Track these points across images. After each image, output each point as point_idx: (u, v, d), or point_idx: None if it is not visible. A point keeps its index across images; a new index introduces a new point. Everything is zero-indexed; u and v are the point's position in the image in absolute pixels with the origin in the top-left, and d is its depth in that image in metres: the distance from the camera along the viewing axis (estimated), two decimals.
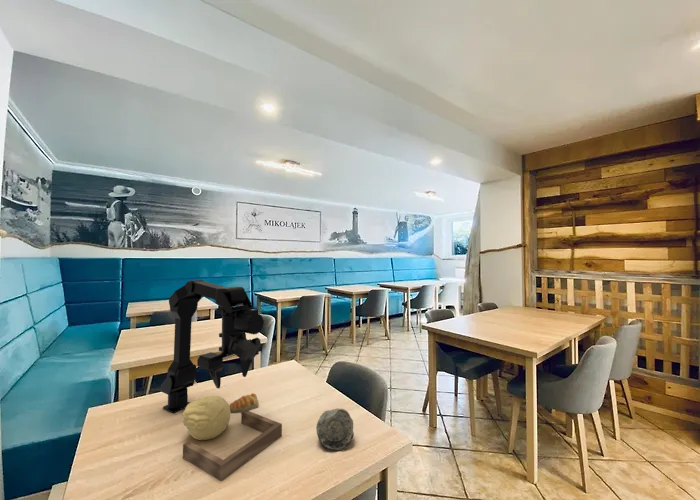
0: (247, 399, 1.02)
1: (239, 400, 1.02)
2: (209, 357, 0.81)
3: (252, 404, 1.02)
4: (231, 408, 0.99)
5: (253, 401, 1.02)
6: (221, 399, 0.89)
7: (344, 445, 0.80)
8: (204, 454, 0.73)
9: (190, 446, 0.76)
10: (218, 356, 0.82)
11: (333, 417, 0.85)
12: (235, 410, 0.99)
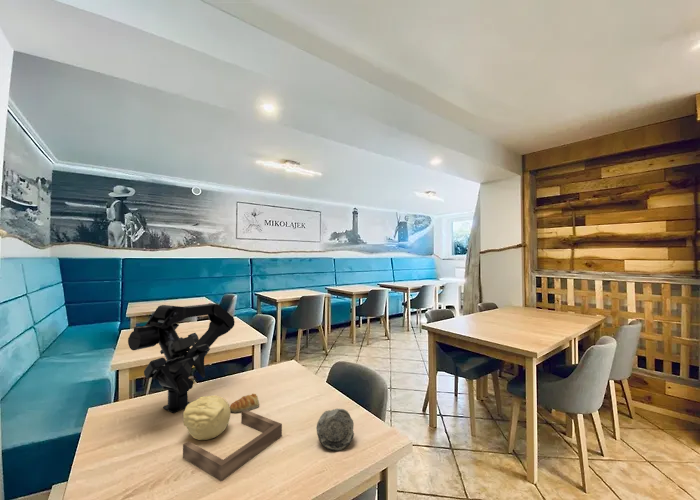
0: (248, 399, 1.02)
1: (240, 400, 1.02)
2: None
3: (253, 404, 1.01)
4: (232, 408, 0.99)
5: (254, 401, 1.02)
6: (221, 399, 0.89)
7: (344, 445, 0.80)
8: (204, 454, 0.73)
9: (190, 446, 0.76)
10: (159, 358, 0.90)
11: (333, 417, 0.85)
12: (236, 410, 0.99)
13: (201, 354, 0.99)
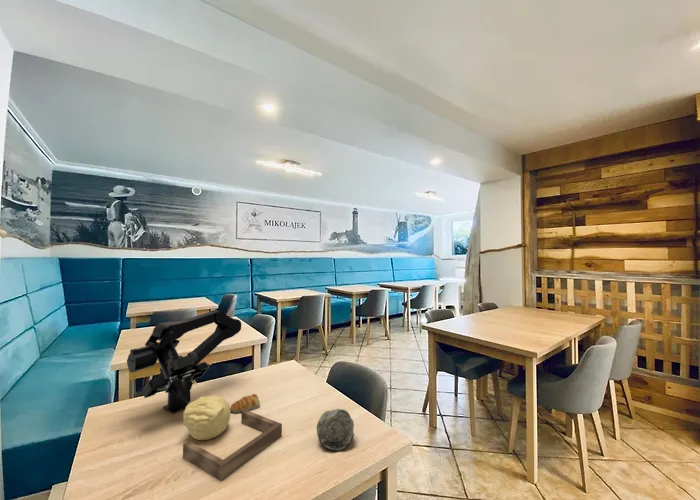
0: (248, 400, 1.02)
1: (241, 400, 1.01)
2: None
3: (254, 404, 1.01)
4: (232, 409, 0.99)
5: (255, 401, 1.02)
6: (221, 399, 0.89)
7: (344, 446, 0.80)
8: (204, 454, 0.73)
9: (190, 446, 0.76)
10: (158, 377, 0.90)
11: (333, 417, 0.85)
12: (237, 411, 0.99)
13: (187, 377, 0.96)
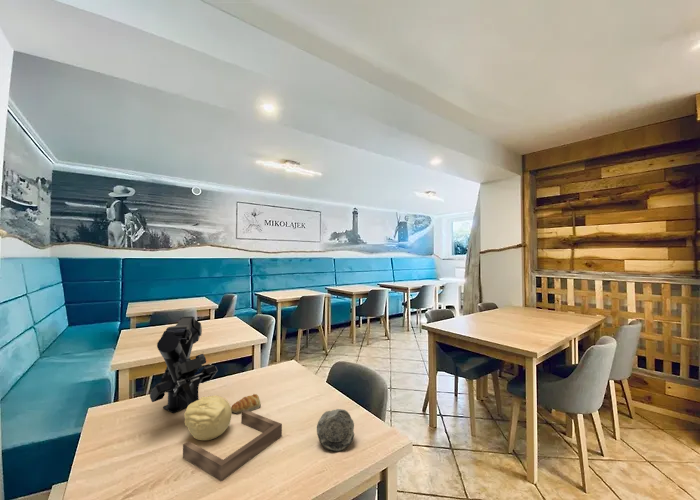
0: (249, 400, 1.01)
1: (241, 401, 1.01)
2: None
3: (255, 404, 1.01)
4: (233, 409, 0.98)
5: (256, 401, 1.02)
6: (222, 399, 0.89)
7: (344, 446, 0.80)
8: (204, 454, 0.73)
9: (190, 446, 0.76)
10: (166, 381, 0.88)
11: (333, 417, 0.85)
12: (237, 411, 0.99)
13: (195, 381, 0.93)
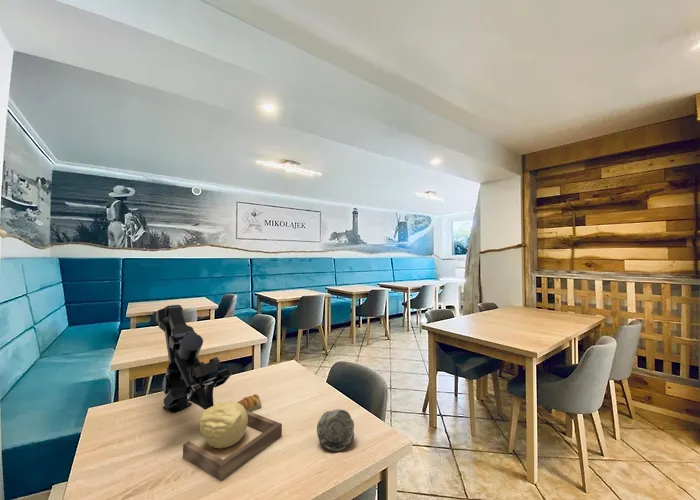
0: (250, 400, 1.01)
1: (242, 401, 1.01)
2: None
3: (255, 405, 1.01)
4: None
5: (256, 402, 1.02)
6: (238, 405, 0.85)
7: (344, 446, 0.80)
8: (204, 454, 0.73)
9: (190, 446, 0.76)
10: (180, 385, 0.84)
11: (333, 417, 0.85)
12: None
13: (210, 385, 0.89)
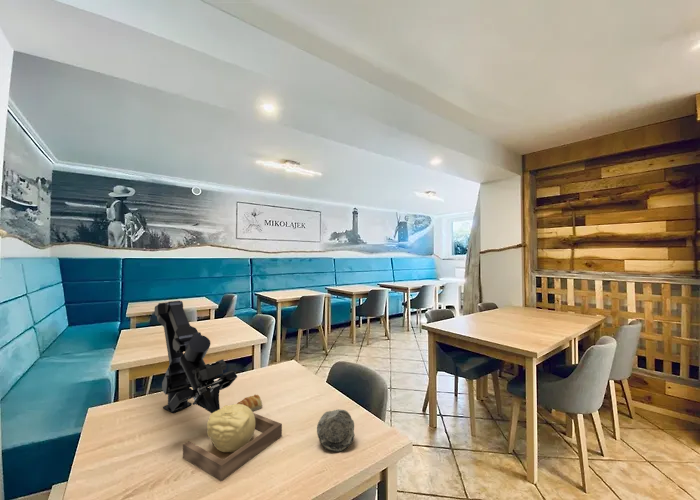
0: (251, 400, 1.01)
1: (243, 401, 1.01)
2: None
3: (256, 405, 1.01)
4: None
5: (257, 402, 1.01)
6: (246, 408, 0.84)
7: (344, 446, 0.80)
8: (204, 454, 0.73)
9: (190, 446, 0.76)
10: (186, 389, 0.83)
11: (334, 418, 0.84)
12: None
13: (216, 388, 0.88)
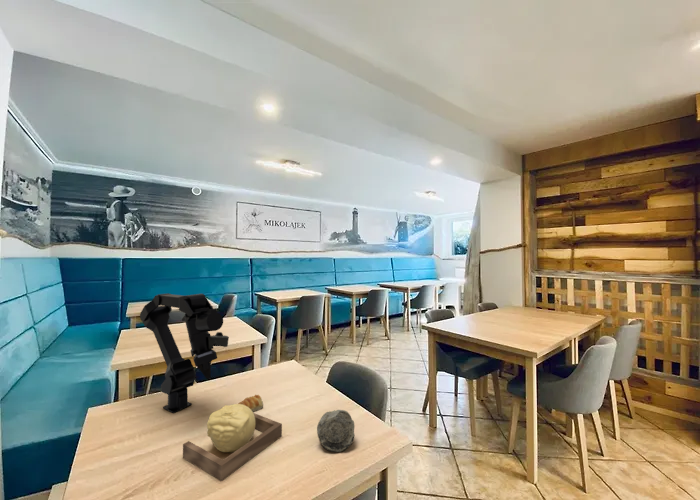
0: (252, 401, 1.01)
1: (244, 402, 1.01)
2: (209, 351, 0.92)
3: (257, 405, 1.01)
4: None
5: (258, 402, 1.01)
6: (246, 408, 0.84)
7: (344, 447, 0.80)
8: (204, 454, 0.73)
9: (190, 446, 0.76)
10: None
11: (334, 418, 0.84)
12: None
13: None
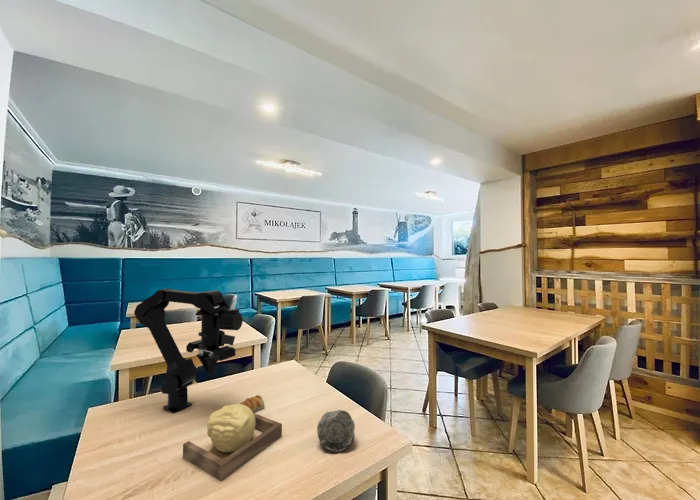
0: (253, 401, 1.01)
1: (245, 402, 1.00)
2: (230, 348, 0.98)
3: (259, 405, 1.00)
4: None
5: (260, 402, 1.01)
6: (246, 408, 0.84)
7: (344, 447, 0.80)
8: (204, 454, 0.73)
9: (190, 446, 0.76)
10: (228, 346, 0.99)
11: (334, 418, 0.84)
12: None
13: None
